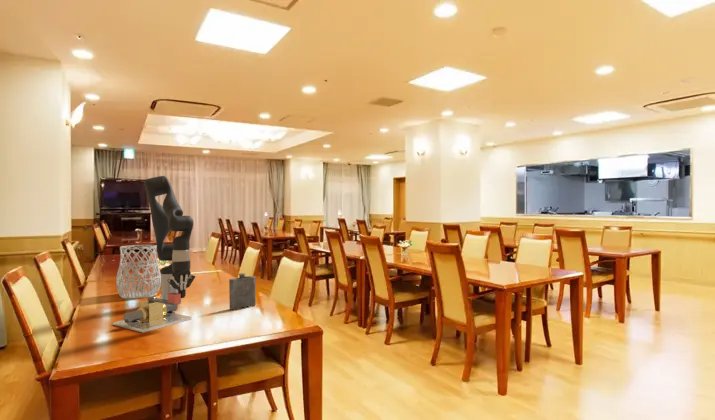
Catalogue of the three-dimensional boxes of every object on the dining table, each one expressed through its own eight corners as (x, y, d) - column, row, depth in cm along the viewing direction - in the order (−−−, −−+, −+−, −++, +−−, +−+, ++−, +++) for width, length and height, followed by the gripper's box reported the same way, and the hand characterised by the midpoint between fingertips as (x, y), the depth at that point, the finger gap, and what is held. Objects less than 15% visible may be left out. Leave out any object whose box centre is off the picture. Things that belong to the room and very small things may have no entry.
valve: (162, 313, 211) (161, 294, 211) (191, 319, 199) (191, 299, 199) (113, 324, 190) (113, 303, 190) (143, 332, 178) (142, 310, 178)
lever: (145, 300, 195) (145, 290, 194) (153, 299, 198) (152, 288, 198) (174, 306, 183) (174, 294, 183) (181, 304, 186) (181, 293, 186)
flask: (228, 308, 219) (227, 274, 219) (253, 304, 228) (253, 271, 228) (230, 310, 216) (230, 275, 216) (256, 305, 225) (256, 272, 225)
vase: (127, 291, 265) (126, 244, 264) (166, 290, 267) (166, 243, 267) (108, 300, 241) (107, 248, 240) (152, 299, 243) (151, 247, 243)
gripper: (189, 257, 197) (189, 294, 197) (162, 260, 186) (163, 299, 186) (199, 258, 193) (199, 296, 193) (172, 262, 182) (173, 301, 182)
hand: (181, 297), depth 189 cm, fingers closed
